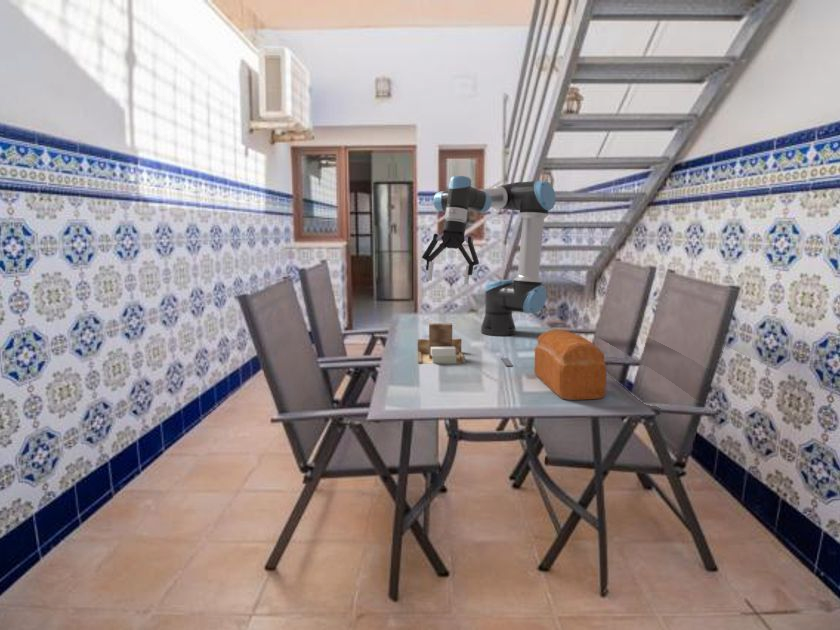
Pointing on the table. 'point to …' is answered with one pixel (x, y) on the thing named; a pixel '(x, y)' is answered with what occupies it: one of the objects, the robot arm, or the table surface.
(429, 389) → the table surface
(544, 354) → the bread
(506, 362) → the rubber mat
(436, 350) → the offcut upper
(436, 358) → the offcut lower
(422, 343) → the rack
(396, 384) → the table surface
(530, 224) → the robot arm
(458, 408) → the table surface
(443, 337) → the walnut board
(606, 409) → the table surface
